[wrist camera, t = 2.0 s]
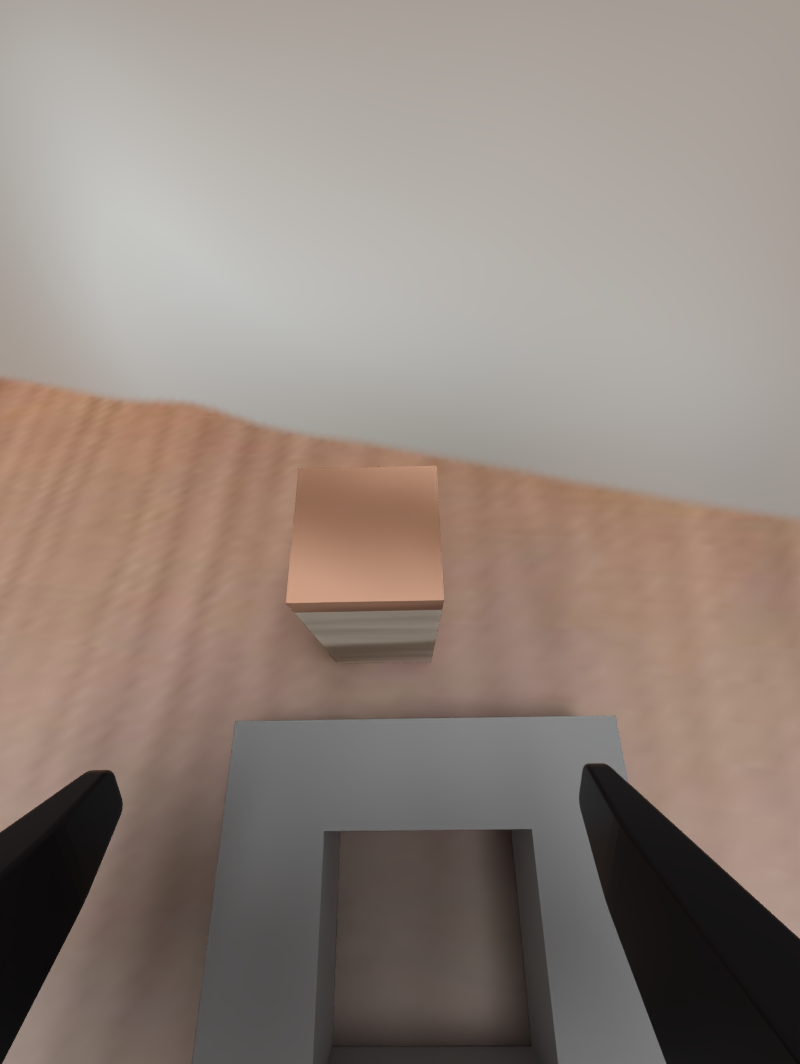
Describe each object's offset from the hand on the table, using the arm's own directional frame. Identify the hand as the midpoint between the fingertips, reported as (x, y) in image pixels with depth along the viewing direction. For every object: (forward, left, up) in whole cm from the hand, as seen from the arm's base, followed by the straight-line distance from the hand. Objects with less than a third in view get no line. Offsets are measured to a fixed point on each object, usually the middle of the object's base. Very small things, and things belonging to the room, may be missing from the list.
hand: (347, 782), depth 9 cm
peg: (+3, +6, -12) cm, 14 cm away
